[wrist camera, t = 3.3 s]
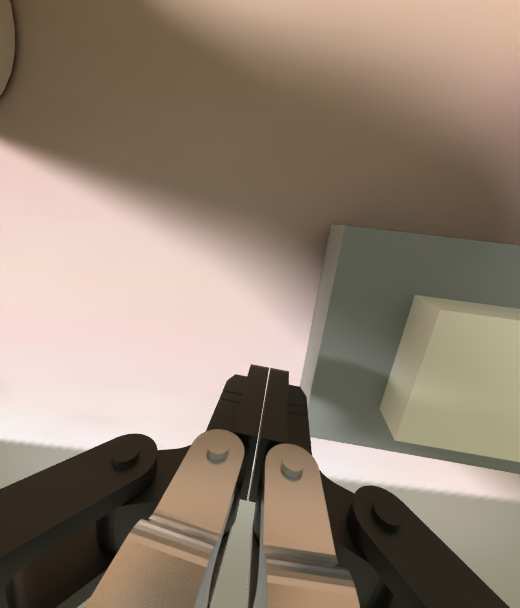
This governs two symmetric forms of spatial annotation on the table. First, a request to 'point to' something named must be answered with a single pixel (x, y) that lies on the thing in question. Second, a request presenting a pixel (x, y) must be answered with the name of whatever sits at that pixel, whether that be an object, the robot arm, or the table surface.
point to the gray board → (389, 324)
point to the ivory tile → (457, 379)
